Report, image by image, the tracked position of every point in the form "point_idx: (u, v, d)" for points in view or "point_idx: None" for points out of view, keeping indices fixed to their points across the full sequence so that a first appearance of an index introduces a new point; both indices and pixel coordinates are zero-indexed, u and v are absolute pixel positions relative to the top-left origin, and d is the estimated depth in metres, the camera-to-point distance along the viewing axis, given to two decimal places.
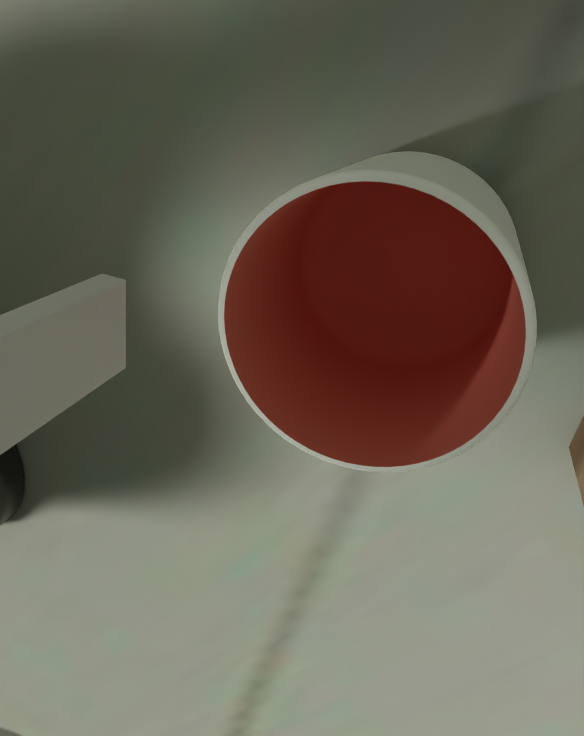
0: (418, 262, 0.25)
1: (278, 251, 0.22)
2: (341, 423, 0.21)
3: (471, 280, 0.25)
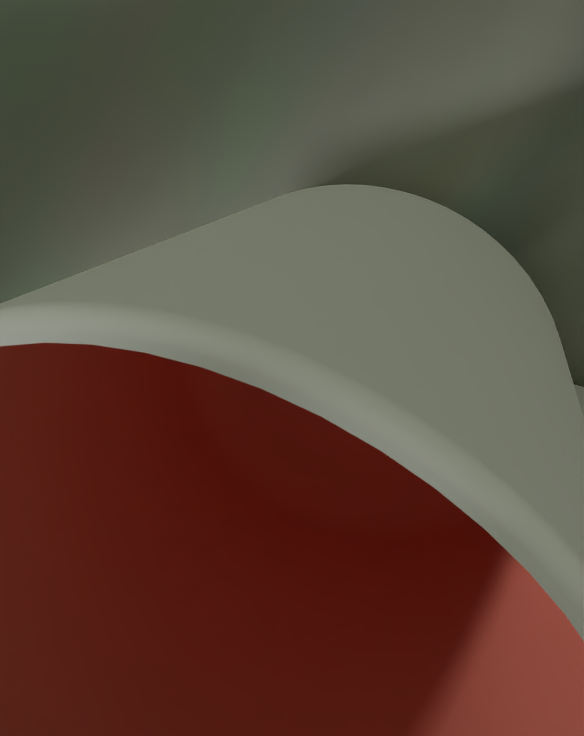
0: None
1: (98, 378, 0.11)
2: (208, 734, 0.11)
3: None
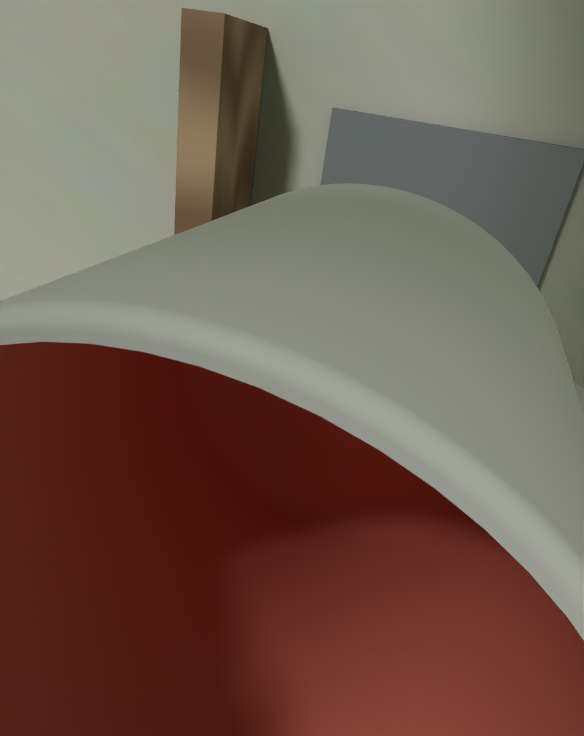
0: None
1: (97, 378, 0.11)
2: (208, 735, 0.10)
3: None
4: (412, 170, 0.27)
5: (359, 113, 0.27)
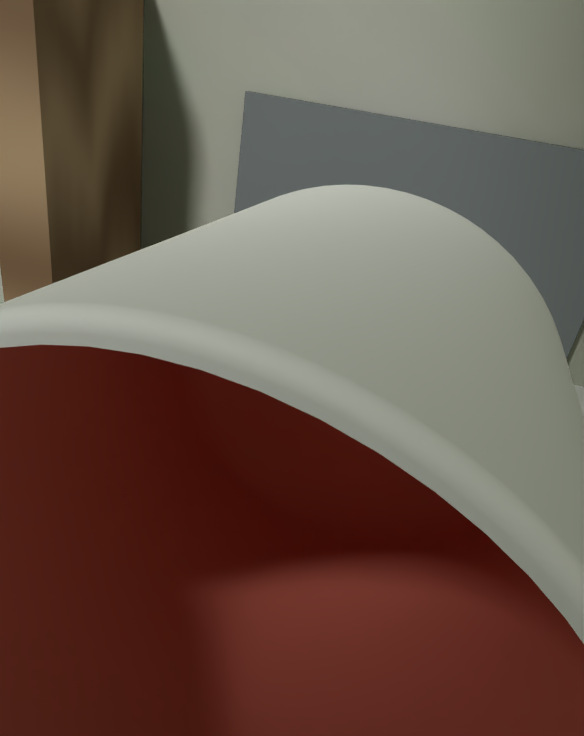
0: None
1: (97, 379, 0.11)
2: None
3: None
4: None
5: (286, 99, 0.17)
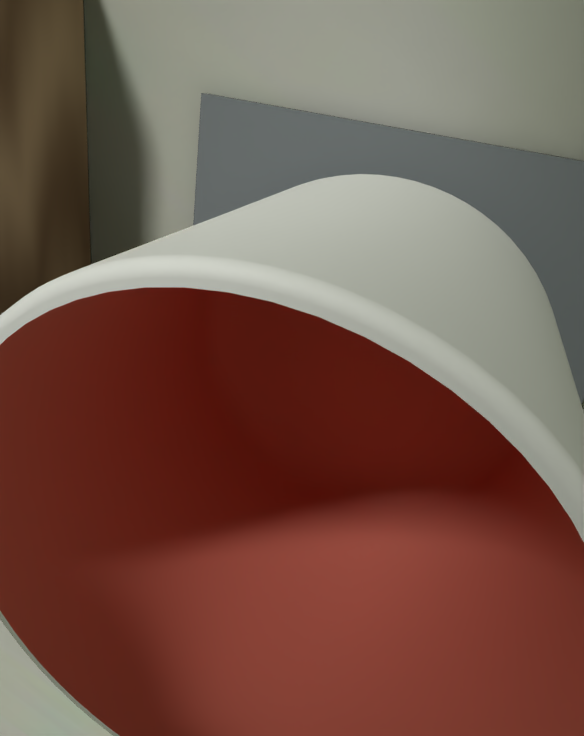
0: None
1: (137, 349, 0.13)
2: (239, 664, 0.12)
3: None
4: None
5: (248, 103, 0.14)
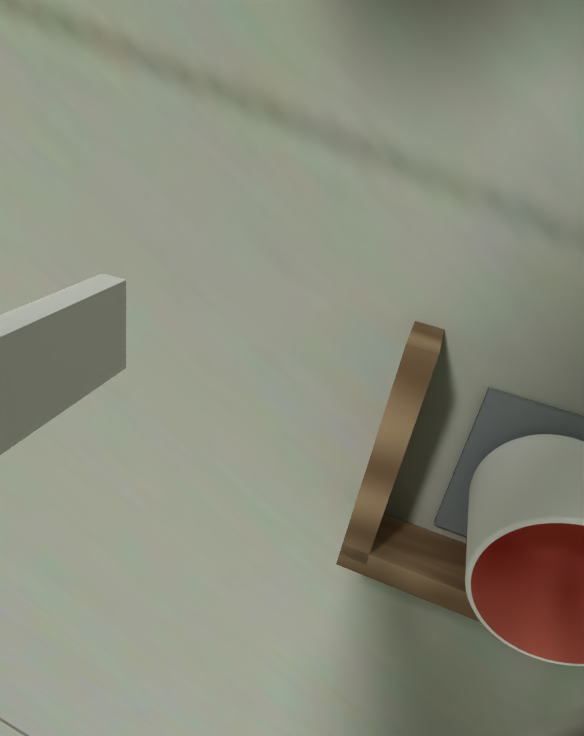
0: None
1: None
2: (521, 619, 0.33)
3: None
4: None
5: (509, 396, 0.36)
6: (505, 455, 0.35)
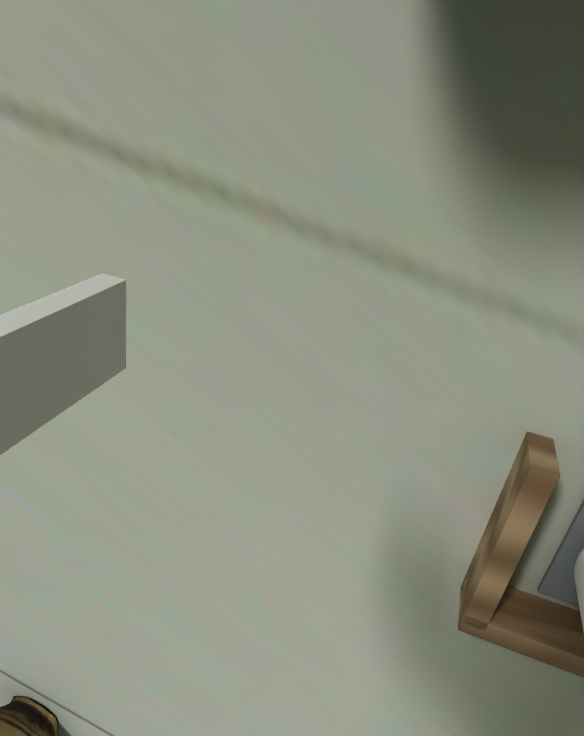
0: None
1: None
2: None
3: None
4: None
5: None
6: None
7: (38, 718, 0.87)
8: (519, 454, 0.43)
